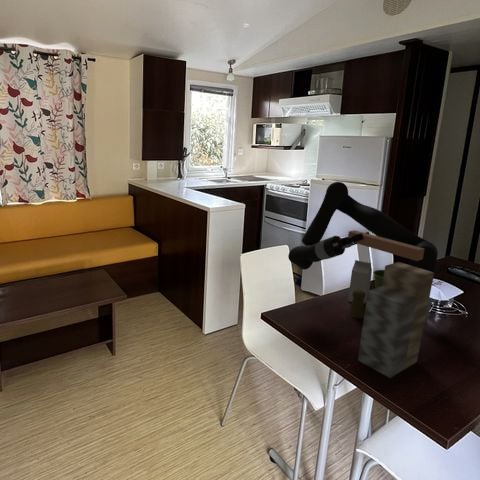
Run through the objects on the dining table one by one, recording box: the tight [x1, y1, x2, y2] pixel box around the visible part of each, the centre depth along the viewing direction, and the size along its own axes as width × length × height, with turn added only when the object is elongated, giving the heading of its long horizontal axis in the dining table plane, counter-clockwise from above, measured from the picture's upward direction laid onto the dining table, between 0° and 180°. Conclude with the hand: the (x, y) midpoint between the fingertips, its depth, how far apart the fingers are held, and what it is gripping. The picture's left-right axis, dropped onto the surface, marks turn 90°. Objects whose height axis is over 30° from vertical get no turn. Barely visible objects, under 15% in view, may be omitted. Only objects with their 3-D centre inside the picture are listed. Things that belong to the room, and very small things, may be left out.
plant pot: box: [372, 269, 385, 288], centre depth 181 cm, size 12×12×11 cm
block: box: [347, 229, 424, 261], centre depth 128 cm, size 26×4×4 cm, turn 38°
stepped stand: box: [357, 261, 435, 379], centre depth 124 cm, size 12×16×32 cm
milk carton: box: [347, 259, 373, 305], centre depth 173 cm, size 7×7×19 cm
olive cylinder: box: [348, 290, 365, 319], centre depth 160 cm, size 6×6×11 cm
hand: (365, 235), depth 133 cm, fingers closed on block, 3 cm apart
